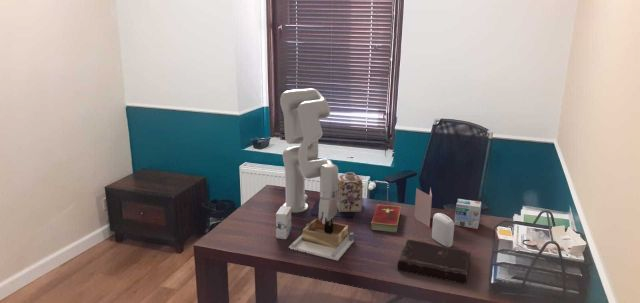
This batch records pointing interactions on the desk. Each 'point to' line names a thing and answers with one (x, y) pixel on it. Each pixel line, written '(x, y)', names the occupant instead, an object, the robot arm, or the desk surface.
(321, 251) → the grey flat slab
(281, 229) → the ink box
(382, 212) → the hardcover book
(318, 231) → the crate
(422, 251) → the diary
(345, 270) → the desk surface
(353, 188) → the decorative jar
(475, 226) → the light bulb box
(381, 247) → the desk surface
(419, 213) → the greeting card
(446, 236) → the photo printer
